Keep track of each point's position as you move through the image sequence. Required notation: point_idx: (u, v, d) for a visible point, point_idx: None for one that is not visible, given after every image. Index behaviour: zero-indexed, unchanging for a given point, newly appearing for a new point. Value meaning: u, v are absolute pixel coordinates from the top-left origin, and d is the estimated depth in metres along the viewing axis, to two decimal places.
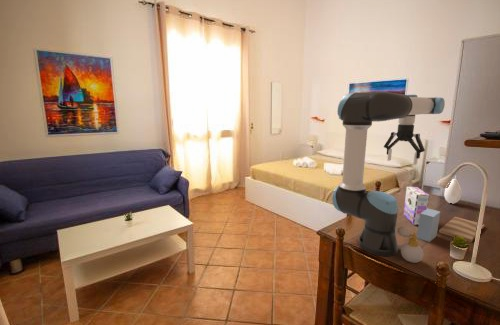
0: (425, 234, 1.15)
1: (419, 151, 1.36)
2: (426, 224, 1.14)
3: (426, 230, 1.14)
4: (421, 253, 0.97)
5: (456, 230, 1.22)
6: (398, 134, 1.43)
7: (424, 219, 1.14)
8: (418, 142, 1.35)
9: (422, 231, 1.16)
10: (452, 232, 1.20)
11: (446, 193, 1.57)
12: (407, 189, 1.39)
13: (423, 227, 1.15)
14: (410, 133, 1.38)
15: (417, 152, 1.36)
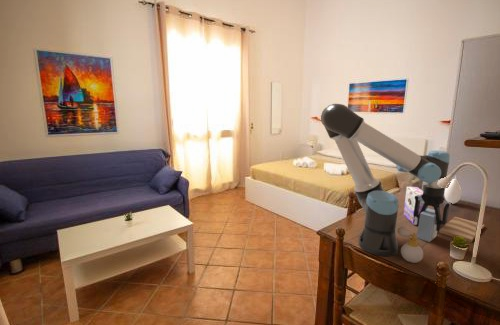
0: (425, 234, 1.15)
1: (440, 223, 1.13)
2: (426, 224, 1.14)
3: (426, 230, 1.14)
4: (421, 253, 0.97)
5: (456, 230, 1.22)
6: (424, 196, 1.16)
7: (424, 219, 1.14)
8: (444, 213, 1.11)
9: (422, 231, 1.16)
10: (452, 232, 1.20)
11: (446, 193, 1.57)
12: (407, 189, 1.39)
13: (423, 227, 1.15)
14: (441, 199, 1.11)
15: None
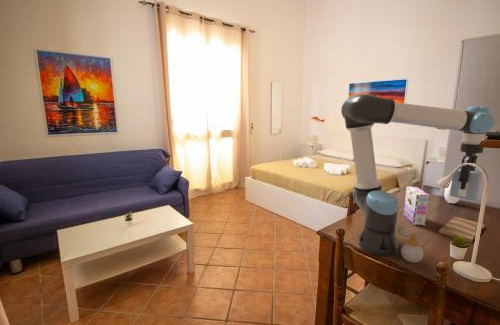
0: None
1: None
2: None
3: None
4: (421, 253, 0.97)
5: (456, 230, 1.22)
6: None
7: None
8: None
9: None
10: (452, 232, 1.20)
11: (446, 193, 1.57)
12: (407, 189, 1.39)
13: None
14: None
15: None
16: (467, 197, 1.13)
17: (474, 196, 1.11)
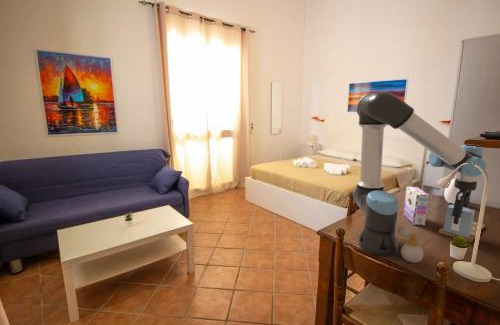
0: None
1: None
2: None
3: None
4: (421, 253, 0.97)
5: None
6: None
7: None
8: None
9: None
10: None
11: (446, 193, 1.57)
12: (407, 189, 1.39)
13: None
14: (459, 191, 1.14)
15: (453, 215, 1.16)
16: (460, 233, 1.17)
17: (467, 233, 1.15)
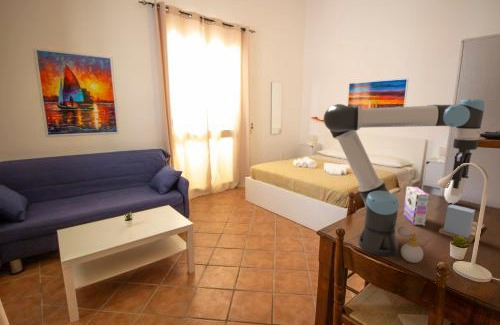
0: None
1: None
2: None
3: None
4: (421, 253, 0.97)
5: None
6: None
7: None
8: None
9: None
10: None
11: (446, 193, 1.57)
12: (407, 189, 1.39)
13: None
14: (458, 151, 1.03)
15: None
16: (460, 233, 1.17)
17: (467, 233, 1.15)
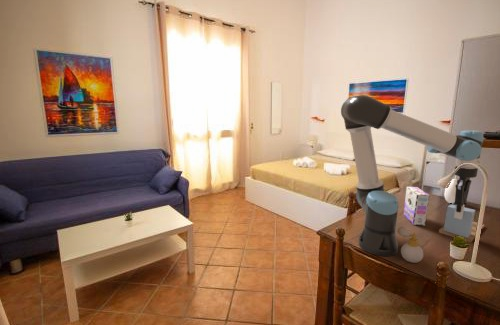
0: None
1: None
2: None
3: None
4: (421, 253, 0.97)
5: None
6: None
7: None
8: None
9: None
10: None
11: (446, 193, 1.57)
12: (407, 189, 1.39)
13: None
14: None
15: None
16: (460, 233, 1.17)
17: (467, 233, 1.15)
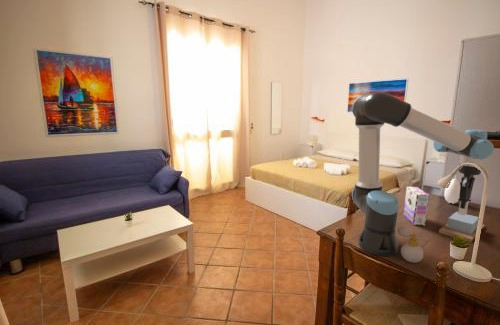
0: None
1: None
2: None
3: None
4: (421, 253, 0.97)
5: (456, 230, 1.22)
6: None
7: None
8: None
9: None
10: (452, 232, 1.20)
11: (446, 193, 1.57)
12: (407, 189, 1.39)
13: None
14: (463, 176, 1.14)
15: None
16: (466, 221, 1.19)
17: (472, 223, 1.18)
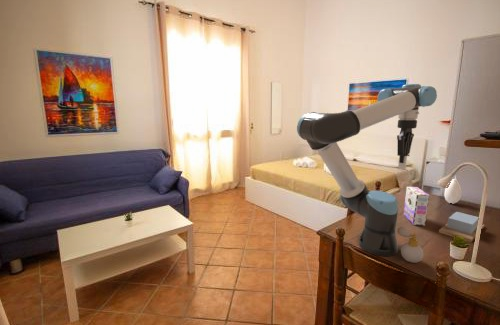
0: None
1: None
2: None
3: None
4: (421, 253, 0.97)
5: (456, 230, 1.22)
6: None
7: None
8: None
9: None
10: (452, 232, 1.20)
11: (446, 193, 1.57)
12: (407, 189, 1.39)
13: None
14: None
15: None
16: (466, 221, 1.19)
17: (472, 223, 1.18)
